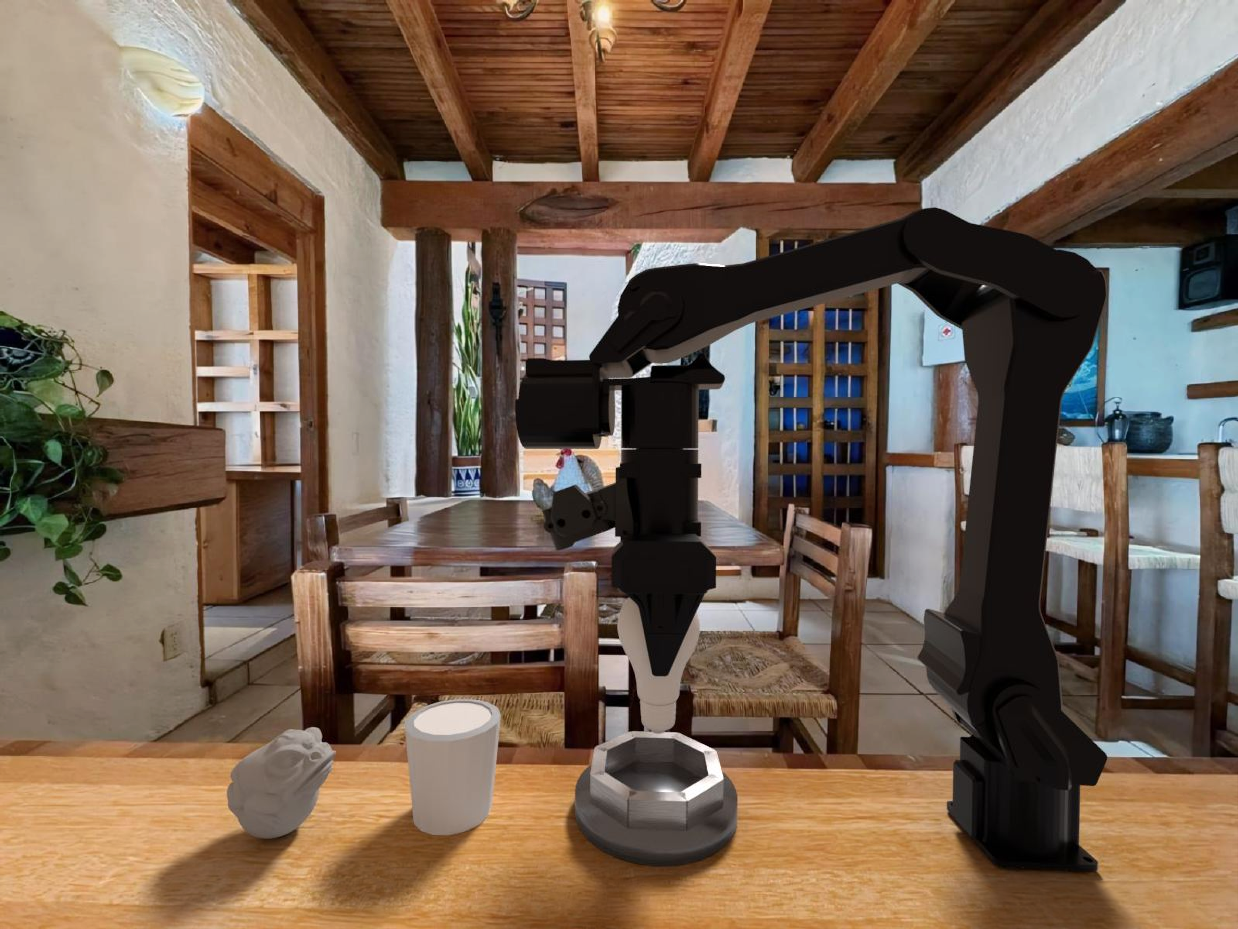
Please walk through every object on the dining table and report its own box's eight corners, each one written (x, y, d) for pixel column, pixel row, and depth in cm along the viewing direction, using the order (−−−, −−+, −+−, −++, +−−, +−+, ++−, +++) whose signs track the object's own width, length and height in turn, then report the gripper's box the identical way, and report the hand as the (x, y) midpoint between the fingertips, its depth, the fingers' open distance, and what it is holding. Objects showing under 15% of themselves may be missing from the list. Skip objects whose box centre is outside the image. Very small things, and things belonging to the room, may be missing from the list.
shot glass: (475, 848, 38) (476, 744, 38) (383, 834, 40) (383, 733, 40) (514, 790, 45) (514, 701, 45) (434, 779, 47) (434, 693, 46)
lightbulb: (615, 752, 40) (616, 594, 40) (618, 713, 46) (618, 576, 46) (704, 754, 40) (704, 595, 39) (694, 714, 46) (695, 577, 46)
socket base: (724, 768, 49) (725, 727, 49) (751, 869, 37) (752, 815, 37) (583, 763, 49) (583, 723, 49) (564, 862, 37) (565, 808, 37)
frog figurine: (301, 866, 37) (302, 758, 36) (200, 858, 37) (200, 751, 37) (354, 808, 43) (354, 715, 43) (266, 802, 43) (266, 710, 43)
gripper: (567, 450, 52) (567, 621, 52) (526, 447, 33) (525, 712, 34) (690, 451, 52) (689, 623, 52) (718, 447, 33) (716, 716, 33)
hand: (658, 659), depth 43 cm, fingers closed on lightbulb, 6 cm apart
